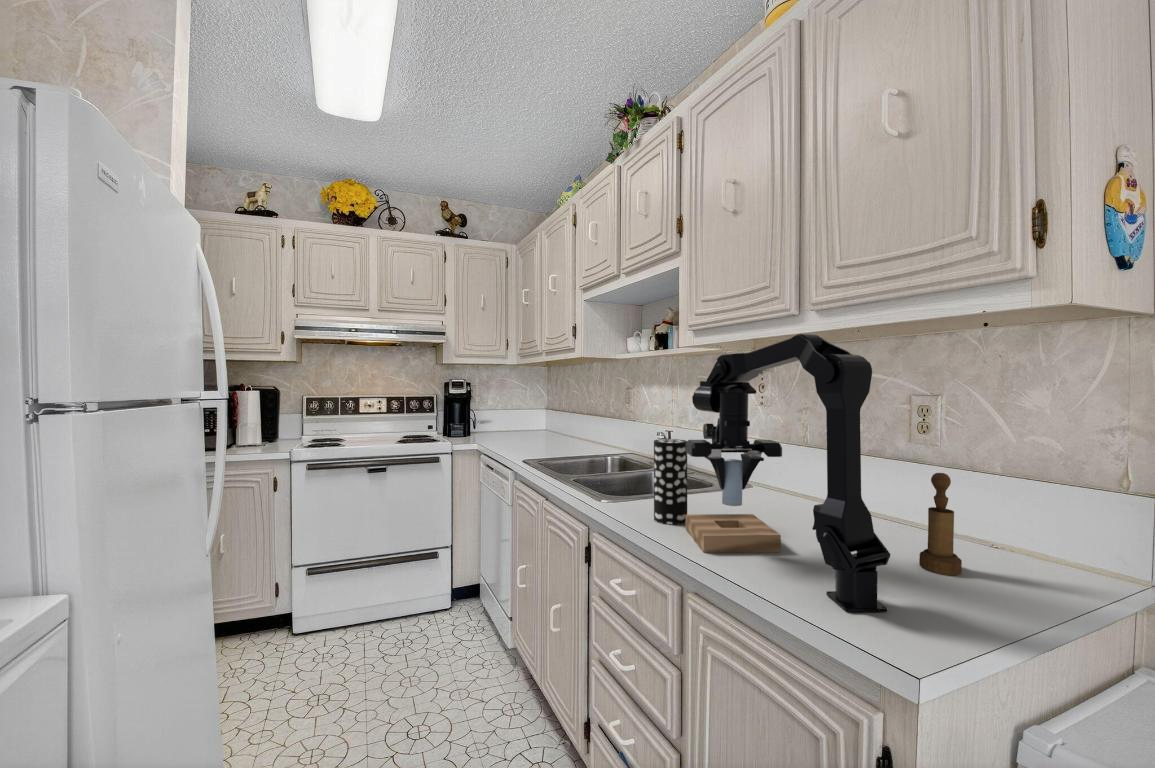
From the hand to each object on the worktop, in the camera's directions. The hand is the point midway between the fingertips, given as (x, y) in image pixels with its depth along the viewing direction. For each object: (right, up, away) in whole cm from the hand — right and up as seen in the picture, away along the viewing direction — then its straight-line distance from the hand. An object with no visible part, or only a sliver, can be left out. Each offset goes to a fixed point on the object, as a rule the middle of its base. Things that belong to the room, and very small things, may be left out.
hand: (732, 489), depth 107 cm
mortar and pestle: (+36, -13, -11) cm, 40 cm away
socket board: (+1, -13, +6) cm, 14 cm away
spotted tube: (-9, -13, +22) cm, 27 cm away
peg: (0, -3, 0) cm, 3 cm away
